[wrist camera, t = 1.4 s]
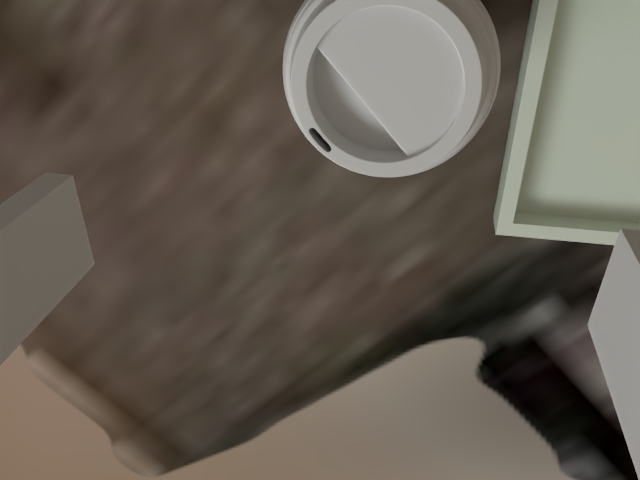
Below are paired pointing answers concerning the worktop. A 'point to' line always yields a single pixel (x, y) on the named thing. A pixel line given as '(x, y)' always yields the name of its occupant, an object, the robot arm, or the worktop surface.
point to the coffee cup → (391, 80)
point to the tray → (575, 125)
